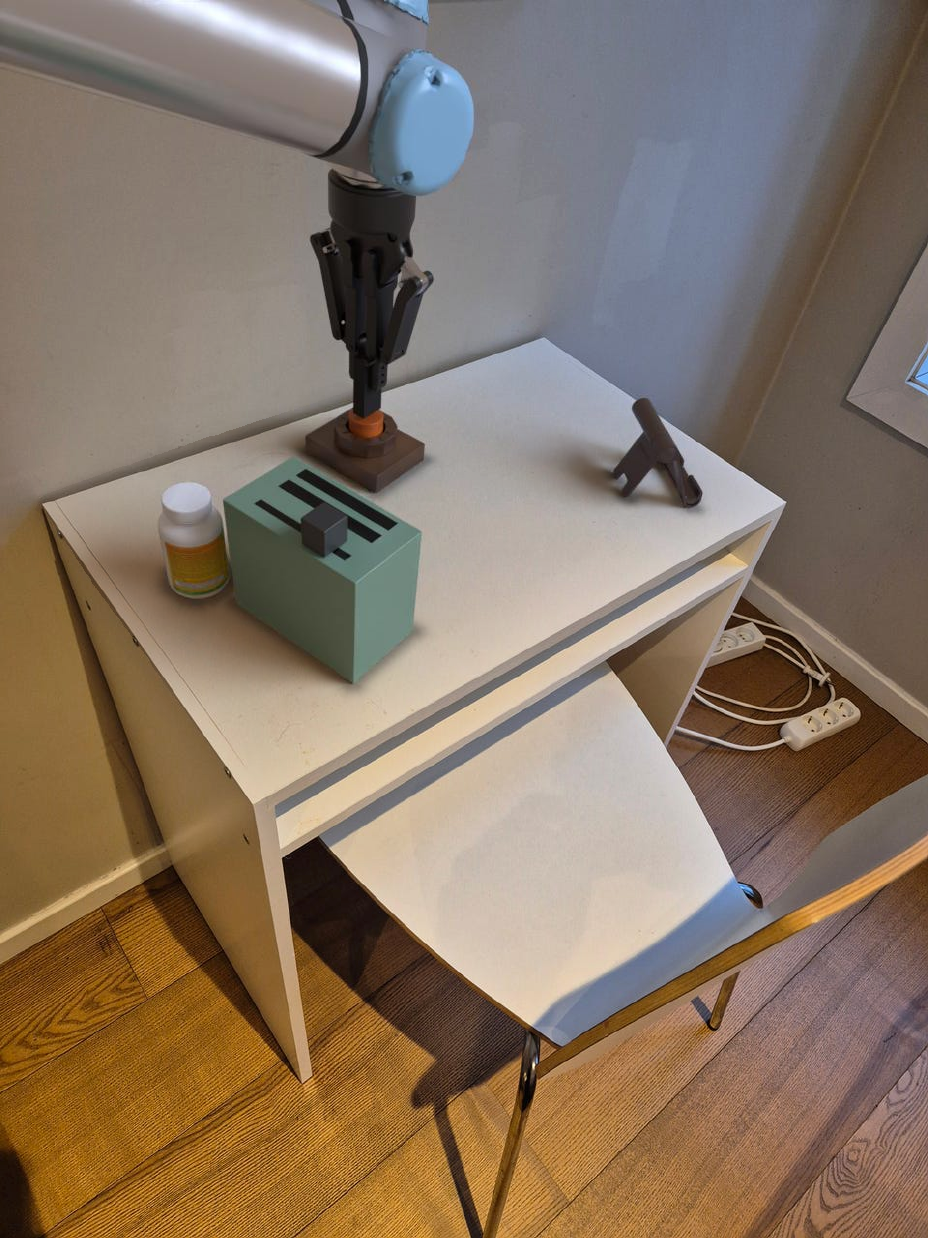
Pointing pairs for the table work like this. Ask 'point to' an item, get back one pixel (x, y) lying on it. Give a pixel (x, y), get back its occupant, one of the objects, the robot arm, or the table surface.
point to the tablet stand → (656, 456)
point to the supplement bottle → (193, 541)
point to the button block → (365, 451)
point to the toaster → (323, 568)
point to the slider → (324, 529)
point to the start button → (366, 424)
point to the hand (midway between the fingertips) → (366, 410)
